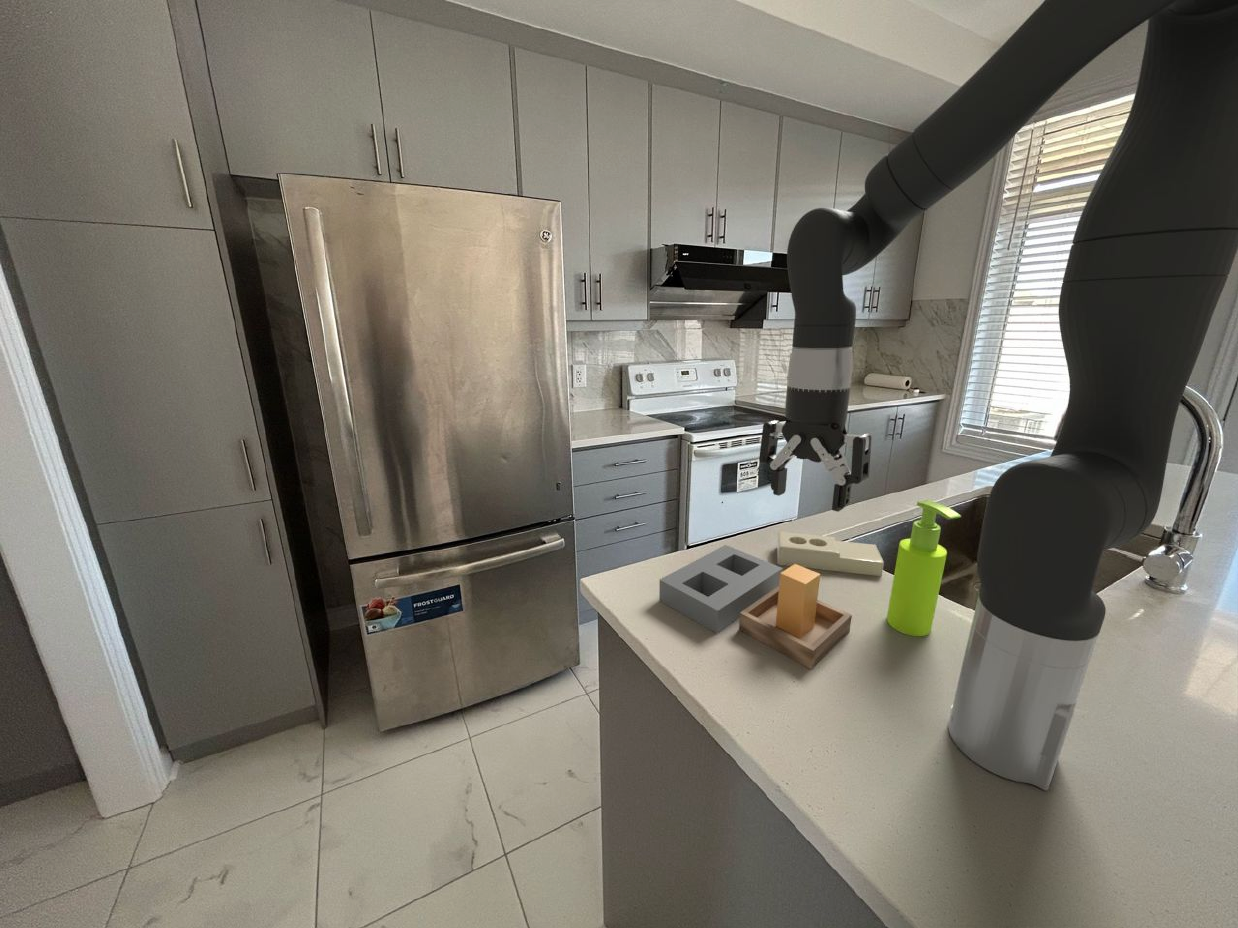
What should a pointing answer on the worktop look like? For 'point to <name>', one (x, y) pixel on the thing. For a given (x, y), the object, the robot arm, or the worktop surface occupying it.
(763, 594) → the cinder block
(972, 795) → the worktop surface
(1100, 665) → the worktop surface
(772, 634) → the tray
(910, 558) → the soap dispenser
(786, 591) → the plug
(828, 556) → the electrical outlet
